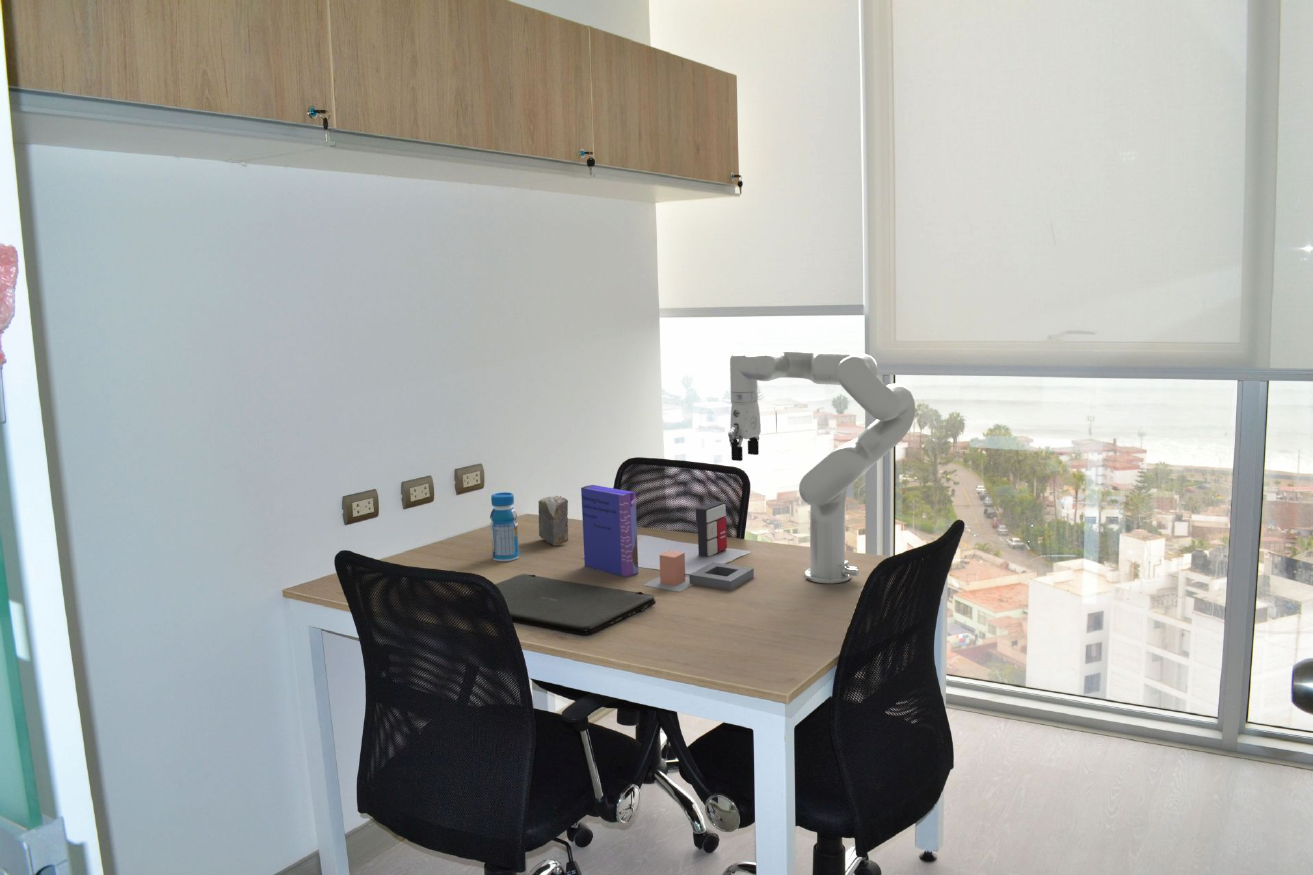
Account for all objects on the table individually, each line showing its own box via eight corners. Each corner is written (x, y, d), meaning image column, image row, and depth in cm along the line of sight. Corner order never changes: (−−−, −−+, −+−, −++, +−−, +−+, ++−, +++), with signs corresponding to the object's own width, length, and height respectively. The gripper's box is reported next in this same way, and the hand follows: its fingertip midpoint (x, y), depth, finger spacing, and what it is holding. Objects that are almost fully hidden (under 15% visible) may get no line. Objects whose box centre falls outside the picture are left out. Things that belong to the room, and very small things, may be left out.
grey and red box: (708, 558, 291) (707, 509, 289) (696, 556, 294) (695, 508, 291) (728, 549, 300) (727, 502, 297) (716, 547, 302) (715, 500, 300)
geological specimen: (538, 540, 318) (536, 495, 315) (555, 537, 321) (553, 492, 319) (553, 547, 309) (551, 501, 306) (570, 544, 312) (568, 498, 310)
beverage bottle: (501, 563, 293) (497, 499, 290) (486, 558, 299) (482, 494, 296) (525, 557, 298) (521, 494, 295) (510, 552, 305) (506, 490, 301)
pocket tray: (753, 578, 271) (753, 568, 271) (731, 592, 260) (731, 581, 260) (713, 572, 278) (712, 561, 278) (689, 584, 267) (689, 574, 267)
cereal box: (638, 573, 279) (635, 491, 275) (626, 577, 276) (623, 494, 272) (596, 562, 291) (592, 484, 287) (584, 566, 288) (581, 487, 284)
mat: (702, 581, 270) (702, 579, 270) (679, 593, 260) (679, 591, 260) (666, 575, 277) (666, 573, 277) (642, 587, 267) (642, 584, 267)
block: (685, 580, 269) (684, 552, 268) (675, 585, 265) (675, 557, 264) (670, 578, 272) (669, 550, 271) (660, 583, 268) (659, 555, 266)
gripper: (741, 402, 264) (742, 463, 267) (770, 394, 278) (770, 453, 281) (717, 400, 268) (718, 461, 271) (746, 393, 283) (747, 451, 285)
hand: (745, 457), depth 276 cm, fingers open, 9 cm apart
